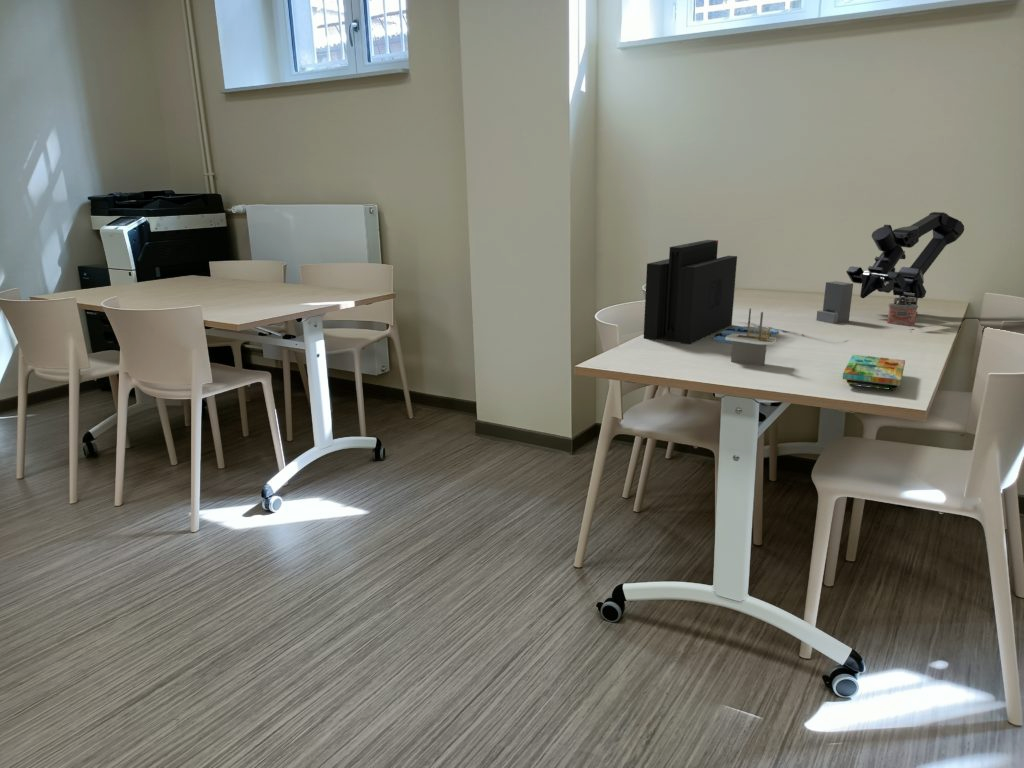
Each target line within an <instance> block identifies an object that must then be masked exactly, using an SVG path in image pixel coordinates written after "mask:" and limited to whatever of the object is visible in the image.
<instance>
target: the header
mask: <svg viewBox="0 0 1024 768" xmlns="http://www.w3.org/2000/svg"><path fill="white" fill-rule="evenodd" d="M838 315H839V314H838V313H833V312H827V311H823V309H822V310H817V311H816V317H815V318H816V319H815V320H816V322H817V321H818V322H822V323H826V324H832V325H836V324H839V323H838Z"/></svg>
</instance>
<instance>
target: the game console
mask: <svg viewBox="0 0 1024 768" xmlns="http://www.w3.org/2000/svg"><path fill="white" fill-rule="evenodd" d="M718 246H719V240H717V239H716V240H715V239H704V240H700V241H695V242H690V243H689V242H688V243H683V244H678V245H672V246H669V252H668V253H669V255H668V256H669V257H668V258H667V259H662V260H657V261H652V262H650V263H649V262H648V263H646V276H645V277H646V278H645V279H646V281H645V299H644V302H645V304H644V320H643V321H644V324H643V339H646V340H647V339H648V340H654V341H658V340H659V341H666V342H672V343H673V342H674V343H679V344H683V345H685V344H686V345H692V344H693V343H696V342H698V341H701V340H702V339H705V338H707V337H709V336H711V335H713V334H715V333H716V334H715V336H714V337H713V338H712V341H715V342H717V343H718V342H719V343H725V342H727V344H733V341H731V340H726V336H728V335H730V334H747V331H748V326H747V325H746V326H745V325H743V326H739V325H738V326H736V327H735V326H732V325H733V314H734V313H733V312H734V301H735V288H736V275H737V261H738V256H737V255H726V256H722V257H718V248H719V247H718ZM731 326H732V327H731ZM728 327H731V328H728ZM750 327H751V329H752V332H753V335H755V331H754V328H753V327H754V326H750ZM724 329H725V330H724ZM755 329H756V332H757V335H759V331H758V328H755ZM764 330H766V329H764ZM719 331H720V332H719ZM764 332H765V331H764ZM768 332H769V330H768ZM771 333H775V334H774V335H777V334H778V333H779V330H776V329H773V328H772V329H771V328H770V335H772V334H771ZM776 333H777V334H776ZM749 334H751V332H750V329H749ZM770 335H769V337H771V336H770ZM762 336H763V335H762ZM765 336H766V332H765ZM767 337H768V335H767Z"/></svg>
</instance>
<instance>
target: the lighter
mask: <svg viewBox="0 0 1024 768" xmlns="http://www.w3.org/2000/svg"><path fill="white" fill-rule="evenodd" d="M906 301H909V302H908V304H906ZM911 302H916V298H914V297H908V298H905V296H901V297H899V296H894V297H893V302H890V303H889V302H888V303H889V304H888V314H887V320H886V323H887V324H890V325H891V324H892V325H902V326H915V325H916V318H917V316H916V312H918V311H917V309H918V307H919V306H918V304H917V305H912V304H911ZM914 330H915V328H911V329H909V331H914Z"/></svg>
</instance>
